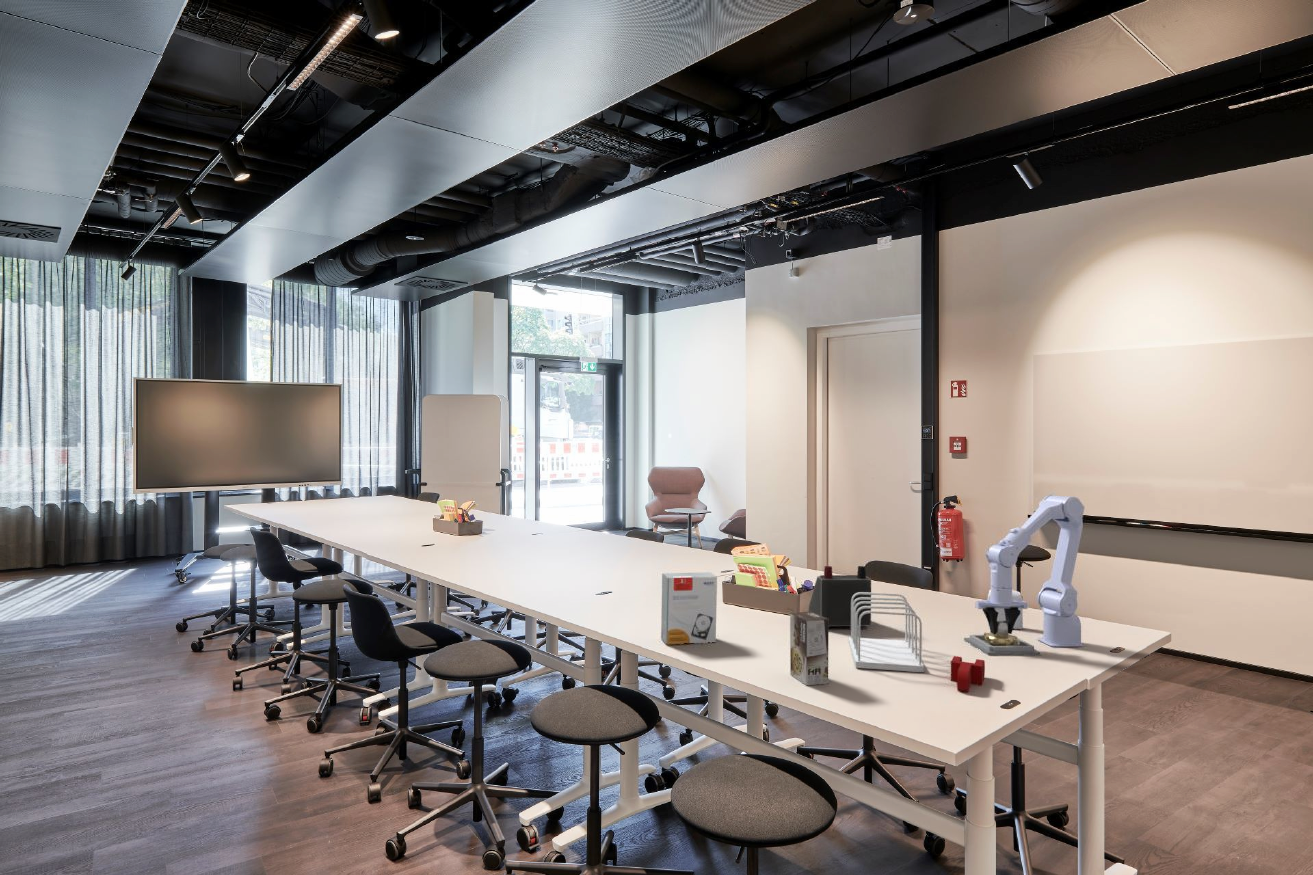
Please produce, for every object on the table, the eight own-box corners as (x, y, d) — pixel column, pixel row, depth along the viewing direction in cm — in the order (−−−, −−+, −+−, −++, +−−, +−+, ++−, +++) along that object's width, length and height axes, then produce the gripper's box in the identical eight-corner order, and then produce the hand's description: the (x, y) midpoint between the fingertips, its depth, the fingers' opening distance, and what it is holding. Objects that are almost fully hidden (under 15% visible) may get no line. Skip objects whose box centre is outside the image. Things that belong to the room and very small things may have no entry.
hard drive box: (666, 645, 212) (666, 577, 212) (660, 638, 220) (660, 572, 220) (717, 643, 215) (717, 575, 215) (709, 636, 223) (710, 571, 223)
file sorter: (924, 673, 189) (925, 613, 189) (855, 669, 192) (855, 610, 192) (909, 646, 213) (909, 593, 213) (848, 643, 216) (848, 591, 216)
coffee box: (829, 683, 180) (829, 618, 180) (806, 686, 178) (806, 620, 178) (811, 672, 189) (811, 610, 189) (789, 674, 187) (789, 611, 187)
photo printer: (987, 626, 236) (987, 588, 236) (987, 623, 240) (987, 586, 240) (1022, 630, 231) (1022, 591, 231) (1022, 627, 235) (1022, 589, 235)
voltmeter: (855, 617, 247) (855, 558, 247) (871, 630, 231) (871, 567, 231) (808, 617, 247) (808, 558, 247) (820, 630, 230) (821, 567, 230)
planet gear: (1007, 636, 217) (1008, 616, 217) (1023, 646, 208) (1024, 625, 208) (978, 636, 217) (978, 616, 217) (992, 646, 208) (993, 625, 208)
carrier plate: (1013, 640, 220) (1013, 633, 220) (1040, 655, 205) (1040, 647, 205) (964, 640, 219) (964, 633, 219) (988, 655, 204) (988, 648, 204)
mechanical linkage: (954, 672, 190) (954, 653, 190) (984, 677, 186) (984, 657, 186) (946, 691, 176) (946, 670, 176) (978, 696, 172) (978, 675, 172)
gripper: (1018, 583, 216) (1018, 629, 216) (970, 583, 216) (970, 629, 216) (1031, 588, 209) (1031, 635, 209) (981, 588, 209) (981, 635, 209)
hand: (1001, 633), depth 212 cm, fingers closed on planet gear, 4 cm apart
